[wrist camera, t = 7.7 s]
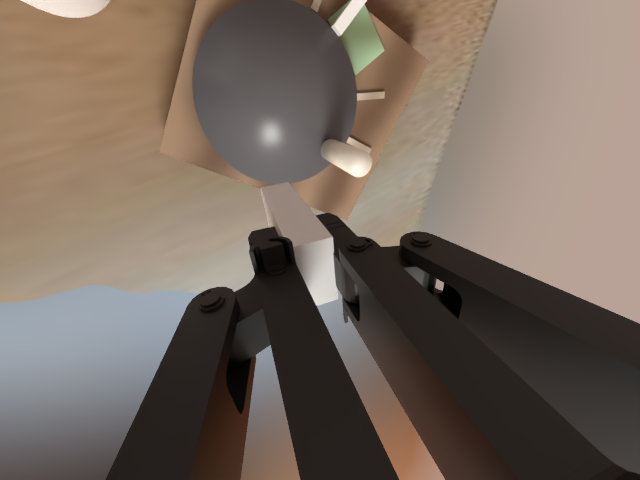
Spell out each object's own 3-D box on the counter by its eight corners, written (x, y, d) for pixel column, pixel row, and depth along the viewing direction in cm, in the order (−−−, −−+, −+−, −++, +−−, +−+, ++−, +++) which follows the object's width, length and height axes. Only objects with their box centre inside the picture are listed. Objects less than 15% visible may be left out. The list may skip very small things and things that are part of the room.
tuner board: (167, 145, 26) (158, 152, 23) (225, -84, 21) (226, -123, 17) (335, 208, 35) (348, 221, 32) (408, 60, 30) (433, 54, 26)
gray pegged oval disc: (291, 206, 29) (311, 240, 22) (158, 111, 22) (127, 116, 15) (404, 65, 26) (468, 53, 19) (293, -100, 19) (333, -213, 12)
